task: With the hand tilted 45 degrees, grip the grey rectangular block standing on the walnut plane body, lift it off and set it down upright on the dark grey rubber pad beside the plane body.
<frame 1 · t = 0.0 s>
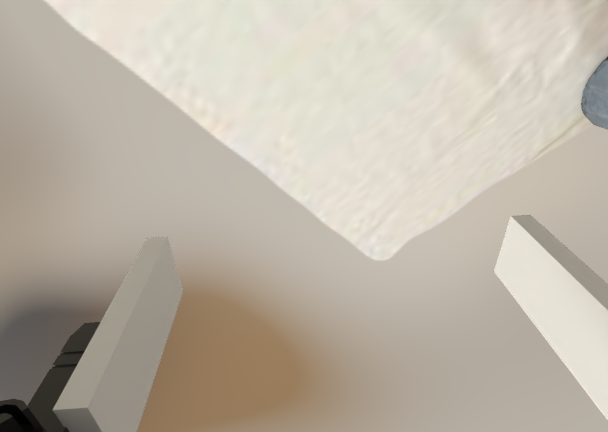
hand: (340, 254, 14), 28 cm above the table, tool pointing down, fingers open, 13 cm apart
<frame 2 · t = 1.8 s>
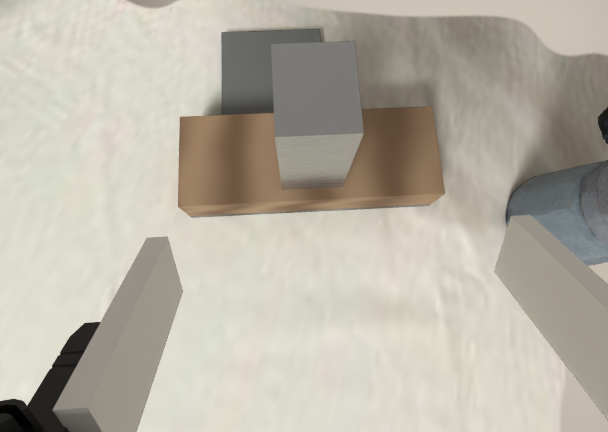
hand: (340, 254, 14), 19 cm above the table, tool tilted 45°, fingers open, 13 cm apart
plane body: (308, 170, 35), on the table
rubber pad: (273, 78, 37), on the table
grey rectangular block: (310, 154, 31), point 4 cm above the table, touching plane body
moka pot: (545, 220, 34), on the table
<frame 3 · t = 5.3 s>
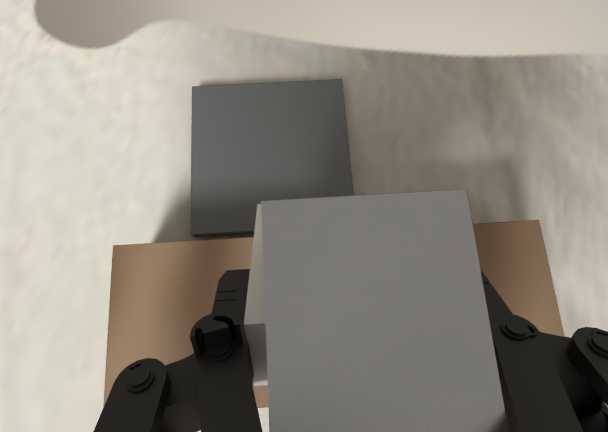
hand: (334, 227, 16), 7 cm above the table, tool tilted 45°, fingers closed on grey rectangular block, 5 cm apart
plane body: (329, 311, 22), on the table
rubber pad: (271, 157, 24), on the table
grey rectangular block: (335, 312, 18), point 4 cm above the table, touching gripper, plane body
when the fingers open (5 cm above the table, at t = 11.7 s): grey rectangular block drops 1 cm, resting on rubber pad.
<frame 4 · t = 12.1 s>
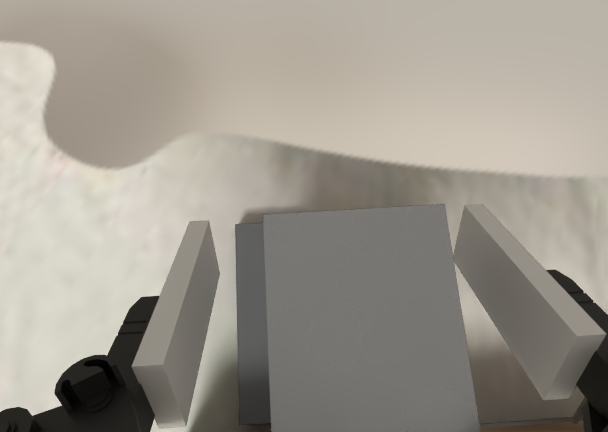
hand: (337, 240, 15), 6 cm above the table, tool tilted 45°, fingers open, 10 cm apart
rubber pad: (331, 311, 20), on the table
grey rectangular block: (332, 313, 19), point 1 cm above the table, touching rubber pad
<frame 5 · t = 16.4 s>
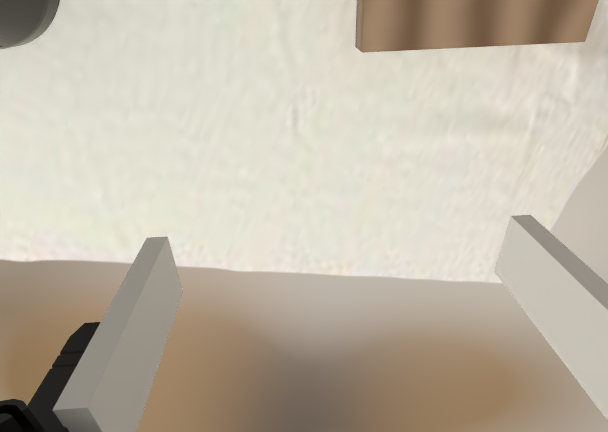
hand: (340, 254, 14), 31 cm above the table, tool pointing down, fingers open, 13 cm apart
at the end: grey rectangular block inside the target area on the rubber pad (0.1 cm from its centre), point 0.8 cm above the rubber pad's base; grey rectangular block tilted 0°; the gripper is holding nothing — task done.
